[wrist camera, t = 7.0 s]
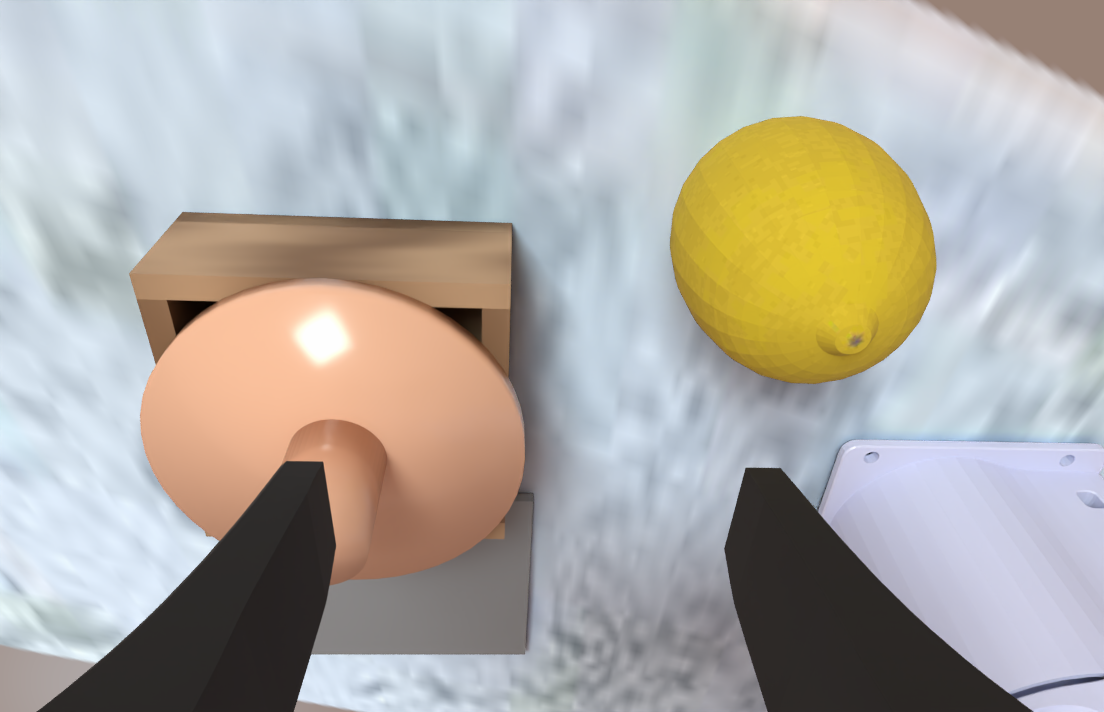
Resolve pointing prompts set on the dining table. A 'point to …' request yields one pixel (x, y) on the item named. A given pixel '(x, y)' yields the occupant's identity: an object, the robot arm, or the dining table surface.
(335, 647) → the mat
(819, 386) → the dining table surface
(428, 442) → the lid
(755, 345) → the lemon
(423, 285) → the wooden open tray
